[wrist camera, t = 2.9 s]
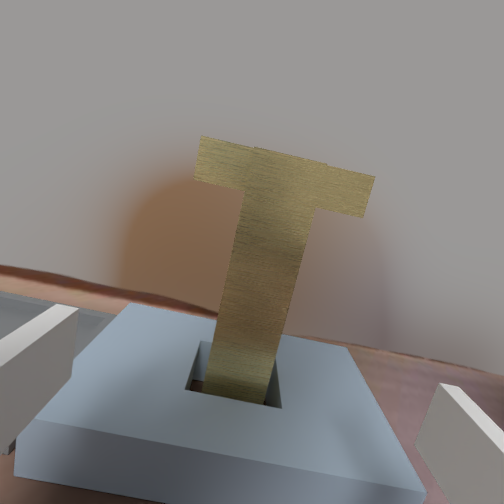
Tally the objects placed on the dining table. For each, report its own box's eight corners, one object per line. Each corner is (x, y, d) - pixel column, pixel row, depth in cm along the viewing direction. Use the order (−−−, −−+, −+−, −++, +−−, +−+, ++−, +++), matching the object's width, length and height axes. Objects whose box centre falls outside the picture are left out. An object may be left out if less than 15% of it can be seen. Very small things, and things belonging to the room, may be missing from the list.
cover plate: (335, 380, 30) (346, 347, 29) (404, 546, 17) (427, 492, 16) (125, 337, 29) (130, 302, 29) (13, 475, 16) (17, 415, 15)
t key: (290, 407, 25) (357, 177, 21) (297, 449, 21) (380, 176, 17) (164, 382, 25) (209, 142, 21) (147, 420, 21) (198, 133, 17)
